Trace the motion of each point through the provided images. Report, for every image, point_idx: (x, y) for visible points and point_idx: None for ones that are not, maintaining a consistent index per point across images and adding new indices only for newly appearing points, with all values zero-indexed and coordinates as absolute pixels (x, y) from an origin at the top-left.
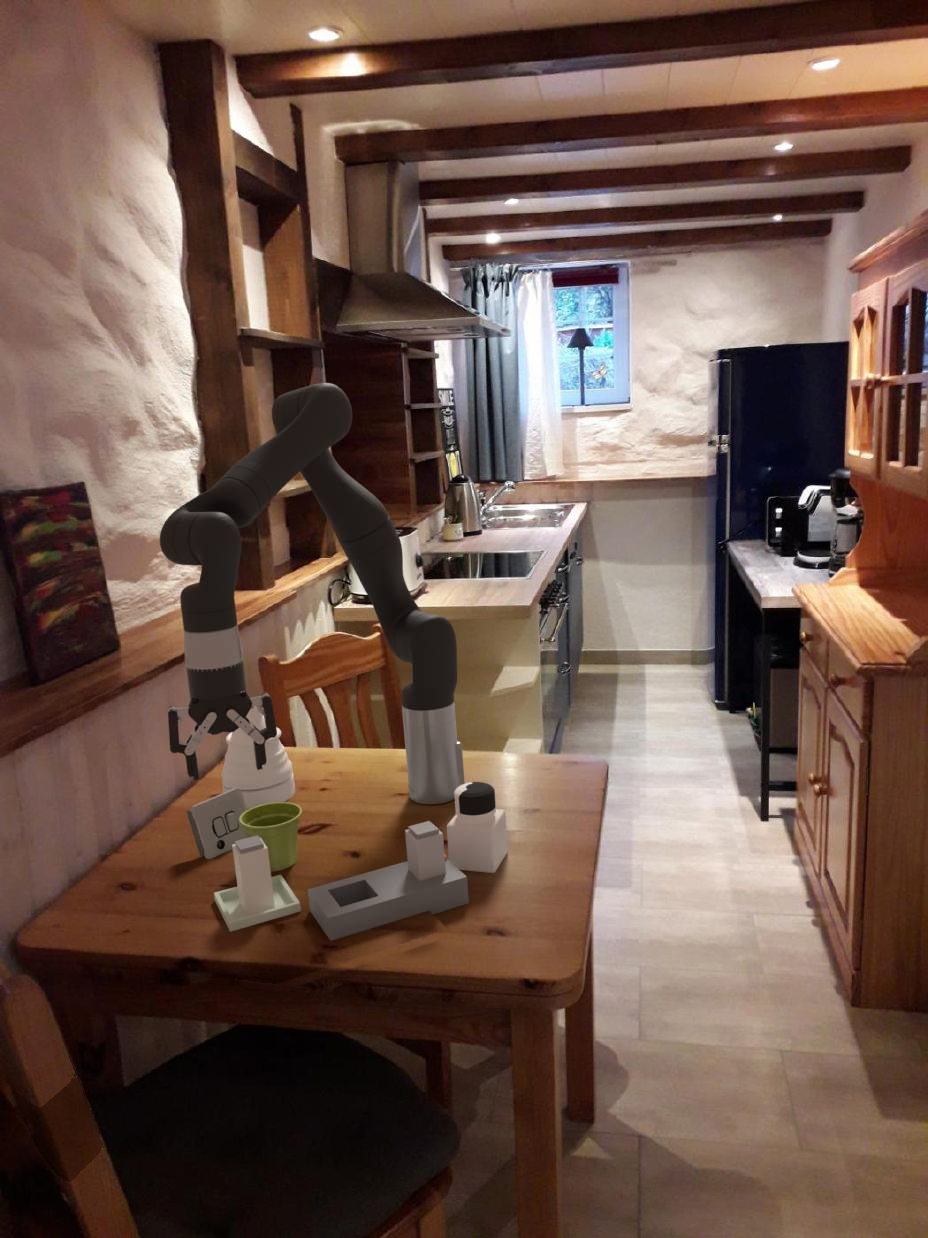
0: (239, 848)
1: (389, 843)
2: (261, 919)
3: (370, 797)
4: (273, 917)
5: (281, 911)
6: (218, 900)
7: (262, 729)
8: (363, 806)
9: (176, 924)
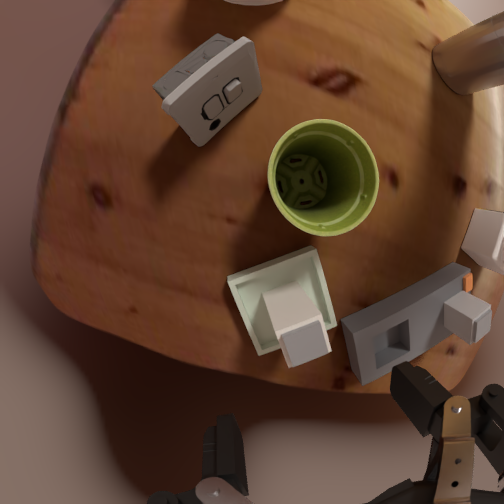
0: (291, 361)
1: (425, 164)
2: None
3: (393, 34)
4: None
5: None
6: (237, 303)
7: (475, 418)
8: (390, 51)
9: (187, 309)
